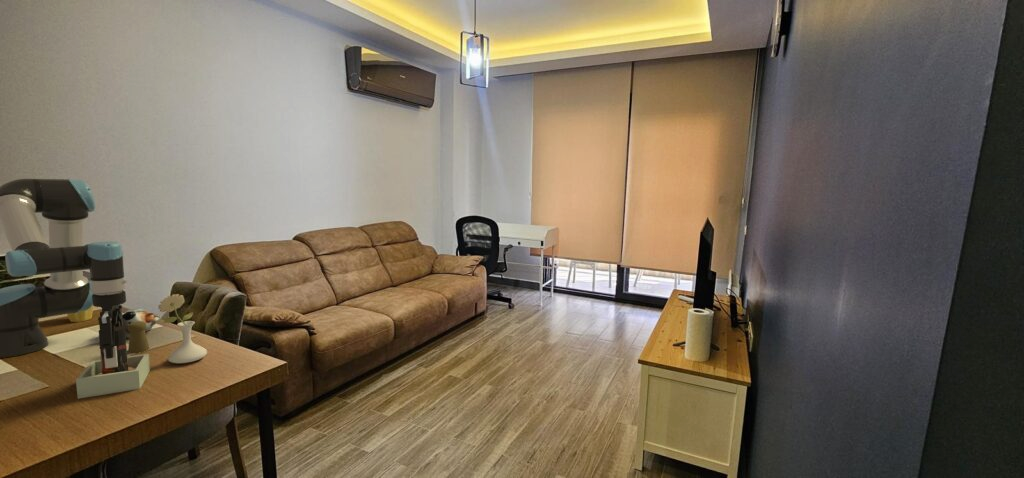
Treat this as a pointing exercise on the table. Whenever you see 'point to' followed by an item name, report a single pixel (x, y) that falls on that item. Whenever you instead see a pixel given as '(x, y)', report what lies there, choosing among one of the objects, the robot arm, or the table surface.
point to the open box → (112, 378)
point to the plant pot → (81, 315)
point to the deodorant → (121, 352)
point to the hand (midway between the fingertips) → (114, 362)
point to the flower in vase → (187, 348)
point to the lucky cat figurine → (138, 319)
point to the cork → (137, 337)
